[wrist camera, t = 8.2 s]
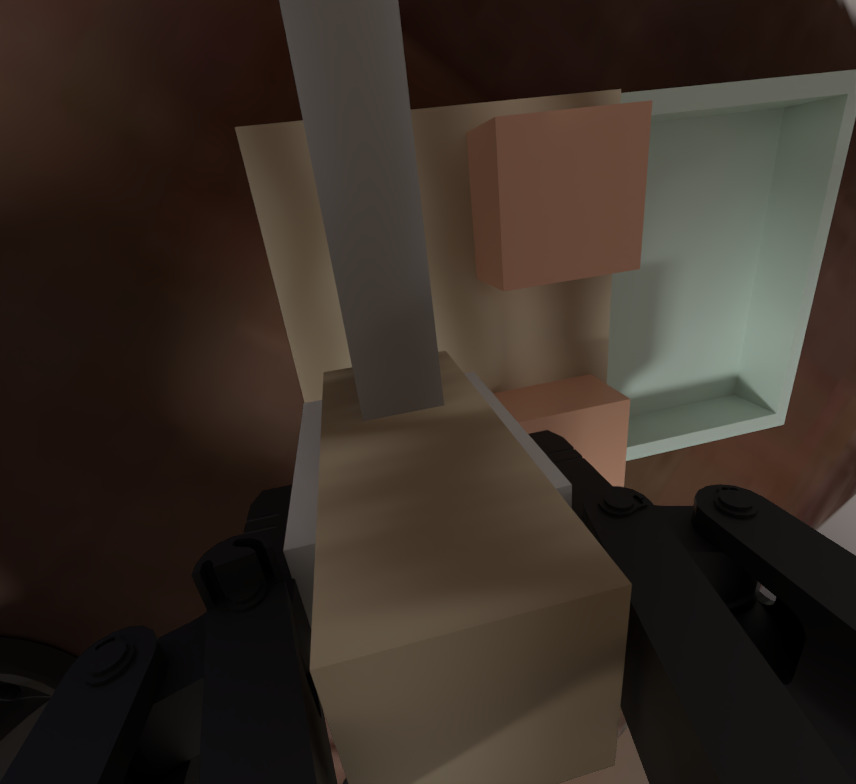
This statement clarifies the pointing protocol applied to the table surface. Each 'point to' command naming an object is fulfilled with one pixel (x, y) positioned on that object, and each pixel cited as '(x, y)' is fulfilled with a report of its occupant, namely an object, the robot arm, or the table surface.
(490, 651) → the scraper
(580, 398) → the tile
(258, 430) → the table surface
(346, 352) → the board
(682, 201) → the tray
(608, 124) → the tile
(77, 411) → the table surface
